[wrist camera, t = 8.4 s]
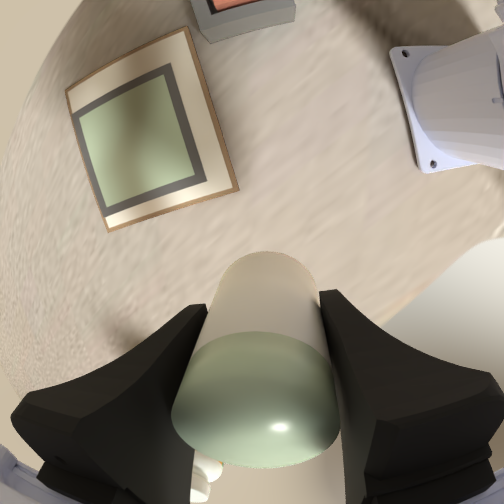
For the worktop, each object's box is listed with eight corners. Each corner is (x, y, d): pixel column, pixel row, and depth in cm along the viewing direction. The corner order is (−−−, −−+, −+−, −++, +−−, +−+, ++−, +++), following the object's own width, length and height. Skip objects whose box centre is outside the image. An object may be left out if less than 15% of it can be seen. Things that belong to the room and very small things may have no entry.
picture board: (188, 26, 14) (186, 25, 14) (239, 190, 18) (238, 191, 17) (66, 90, 16) (63, 90, 15) (109, 232, 19) (107, 233, 19)
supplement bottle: (169, 385, 24) (135, 472, 15) (227, 387, 24) (207, 485, 15) (185, 420, 26) (160, 499, 17) (237, 423, 26) (223, 508, 17)
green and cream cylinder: (305, 240, 11) (329, 360, 5) (324, 326, 12) (345, 457, 6) (204, 264, 12) (141, 384, 6) (235, 343, 13) (208, 469, 7)
